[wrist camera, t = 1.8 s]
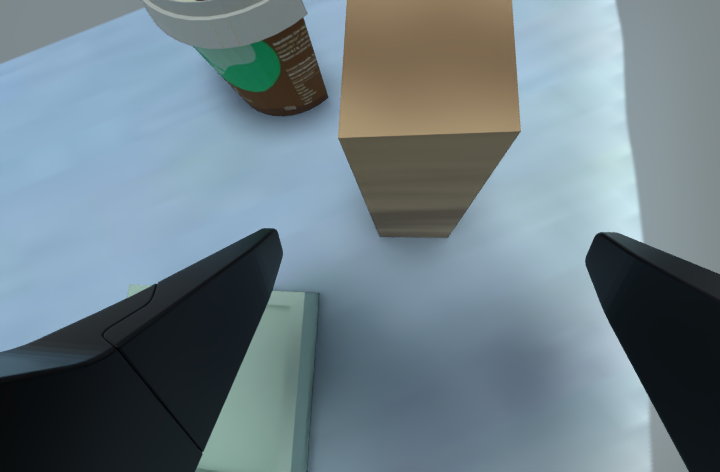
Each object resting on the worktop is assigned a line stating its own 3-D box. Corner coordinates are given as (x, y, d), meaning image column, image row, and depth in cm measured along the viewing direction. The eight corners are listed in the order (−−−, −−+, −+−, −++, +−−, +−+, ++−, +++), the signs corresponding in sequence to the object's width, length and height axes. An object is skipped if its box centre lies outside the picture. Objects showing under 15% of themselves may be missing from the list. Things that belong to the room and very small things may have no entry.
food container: (196, 66, 26) (71, -72, 16) (250, 20, 26) (159, -144, 16) (279, 162, 23) (186, 61, 13) (340, 109, 23) (293, -29, 13)
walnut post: (447, 237, 20) (520, 131, 7) (379, 236, 21) (338, 137, 8) (446, 173, 21) (510, -21, 8) (381, 174, 21) (347, -3, 9)
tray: (305, 490, 18) (286, 527, 15) (135, 465, 20) (89, 494, 17) (319, 293, 20) (304, 292, 17) (165, 286, 22) (129, 284, 19)
